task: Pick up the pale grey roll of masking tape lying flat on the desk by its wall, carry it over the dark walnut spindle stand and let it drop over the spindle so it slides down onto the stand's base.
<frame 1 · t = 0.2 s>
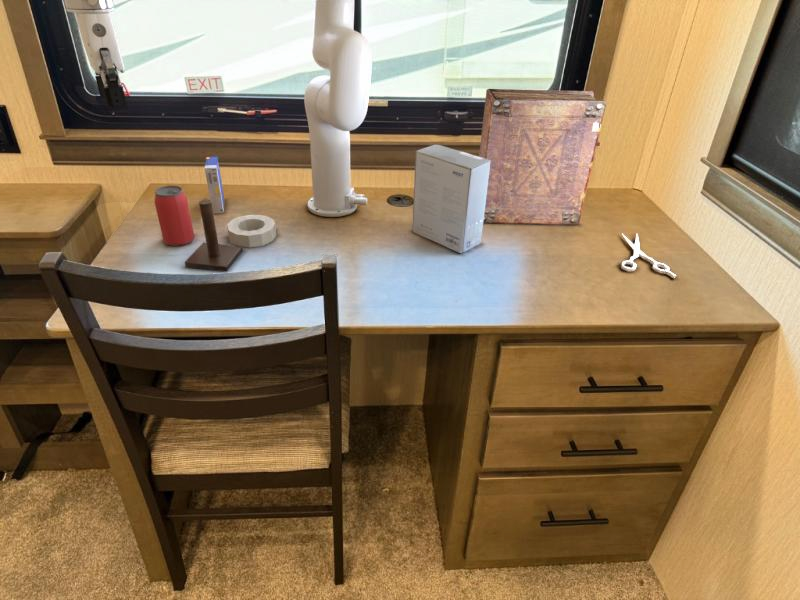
hand: (113, 103, 105), 31 cm above the table, tool pointing down, fingers open, 9 cm apart
hard drive box: (445, 238, 131), on the table
spindle: (215, 259, 119), on the table
tape roll: (252, 236, 128), on the table
walkman: (218, 207, 141), on the table
scissors: (637, 254, 127), on the table
book: (524, 217, 142), on the table
beer can: (179, 241, 125), on the table
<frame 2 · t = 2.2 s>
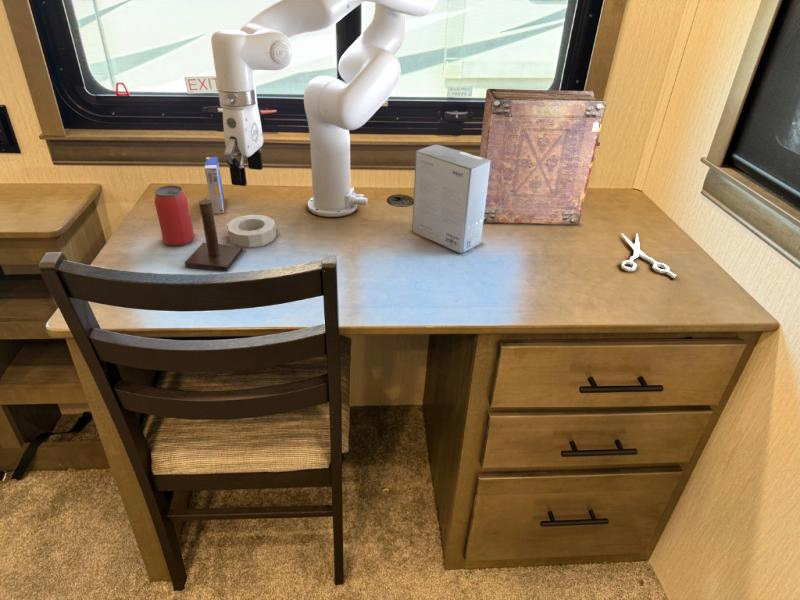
hand: (247, 176, 124), 13 cm above the table, tool pointing down, fingers open, 9 cm apart
nothing on the table moved.
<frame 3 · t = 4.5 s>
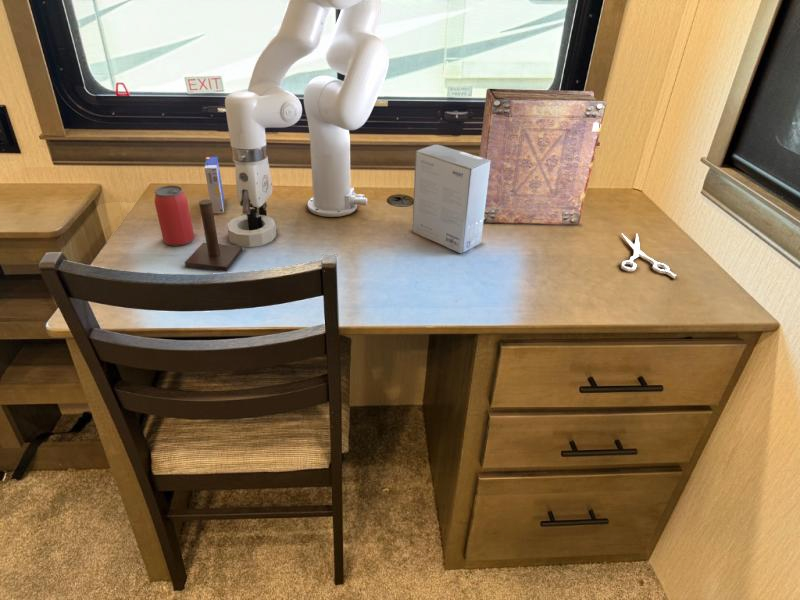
hand: (258, 227, 131), 0 cm above the table, tool pointing down, fingers closed on tape roll, 2 cm apart
tape roll: (252, 236, 128), on the table, touching gripper
everything else where it was.
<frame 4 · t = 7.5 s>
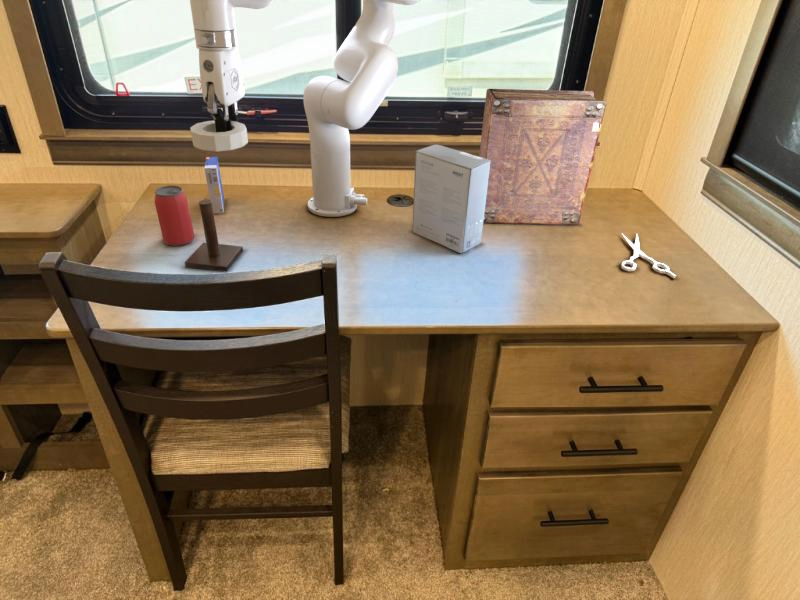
hand: (228, 136, 114), 23 cm above the table, tool pointing down, fingers closed on tape roll, 2 cm apart
tape roll: (220, 142, 111), point 23 cm above the table, touching gripper
everything else where it was.
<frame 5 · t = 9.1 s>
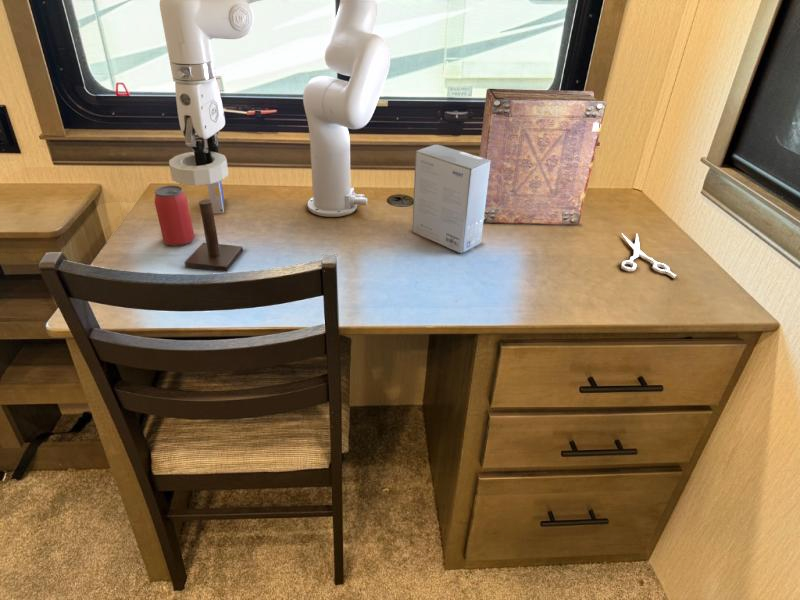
hand: (209, 167, 112), 19 cm above the table, tool pointing down, fingers closed on tape roll, 2 cm apart
tape roll: (200, 175, 109), point 19 cm above the table, touching gripper
everything else where it was.
when the fingers open (15 cm above the table, at t = 10.5 s): tape roll drops 14 cm, resting on spindle.
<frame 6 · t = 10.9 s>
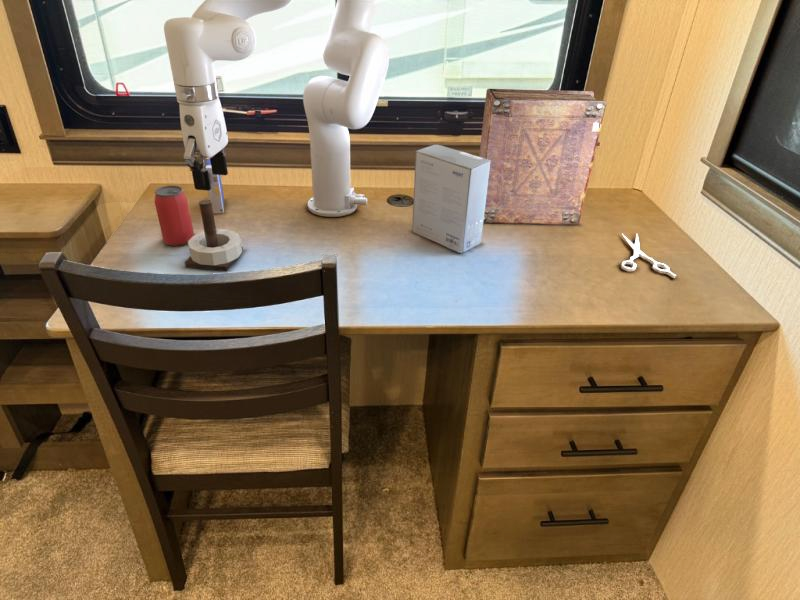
hand: (212, 181, 113), 16 cm above the table, tool pointing down, fingers open, 7 cm apart
tape roll: (216, 252, 119), point 1 cm above the table, touching spindle
everything else where it was.
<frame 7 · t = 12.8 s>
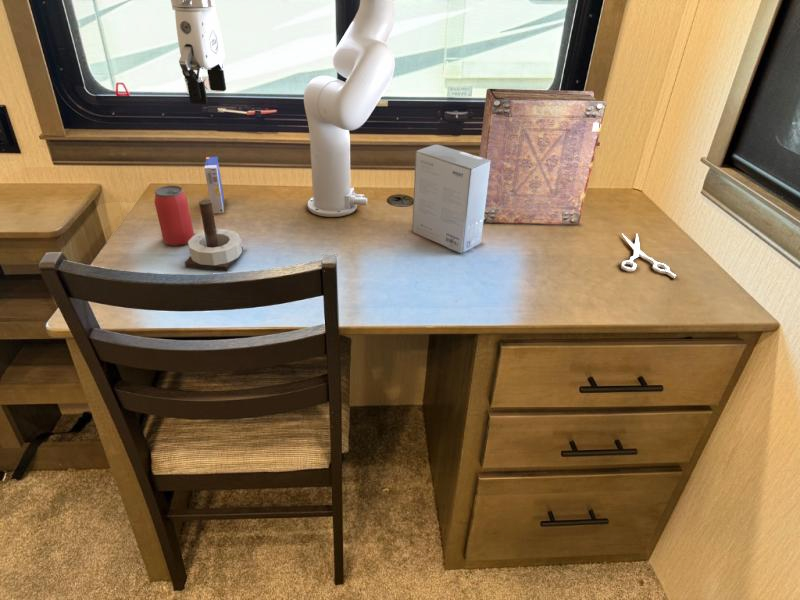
hand: (209, 96, 111), 31 cm above the table, tool pointing down, fingers open, 9 cm apart
nothing on the table moved.
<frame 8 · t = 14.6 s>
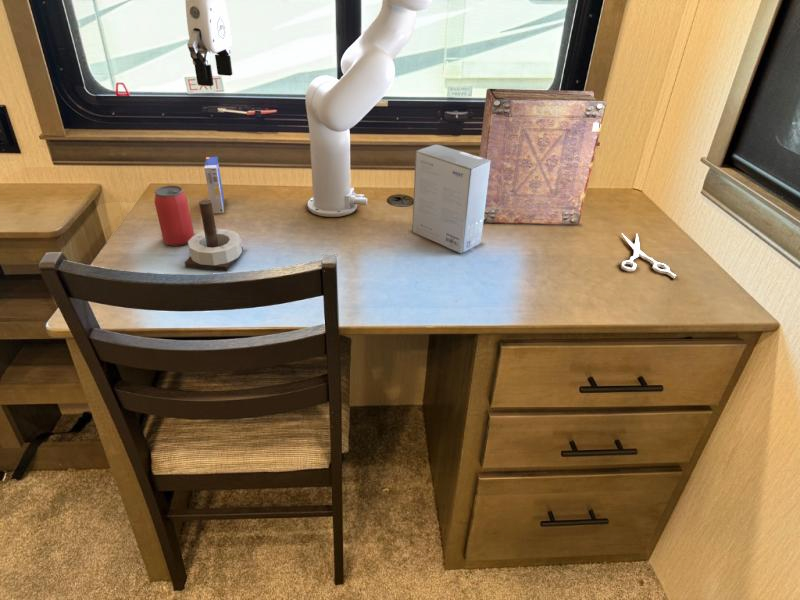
hand: (215, 80, 117), 32 cm above the table, tool pointing down, fingers open, 9 cm apart
nothing on the table moved.
at the end: tape roll 0.6 cm from the spindle (horizontally); tape roll point 1.2 cm above the table; the gripper is holding nothing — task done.
